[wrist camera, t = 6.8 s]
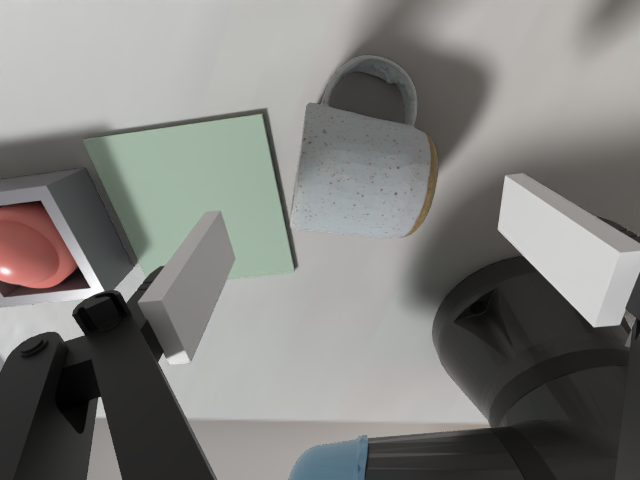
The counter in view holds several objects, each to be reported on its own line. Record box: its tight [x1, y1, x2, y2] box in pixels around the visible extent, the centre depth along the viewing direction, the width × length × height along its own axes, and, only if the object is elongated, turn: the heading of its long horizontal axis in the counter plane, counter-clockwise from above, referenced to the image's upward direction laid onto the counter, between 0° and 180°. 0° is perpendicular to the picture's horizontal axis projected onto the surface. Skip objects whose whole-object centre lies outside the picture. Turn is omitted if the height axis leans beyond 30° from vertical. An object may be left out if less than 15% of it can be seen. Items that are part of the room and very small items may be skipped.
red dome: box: [0, 200, 79, 288], centre depth 24 cm, size 6×6×5 cm
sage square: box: [82, 113, 295, 280], centre depth 26 cm, size 13×13×1 cm
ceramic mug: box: [290, 55, 438, 238], centre depth 20 cm, size 11×8×8 cm
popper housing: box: [0, 168, 133, 308], centre depth 26 cm, size 9×9×4 cm
